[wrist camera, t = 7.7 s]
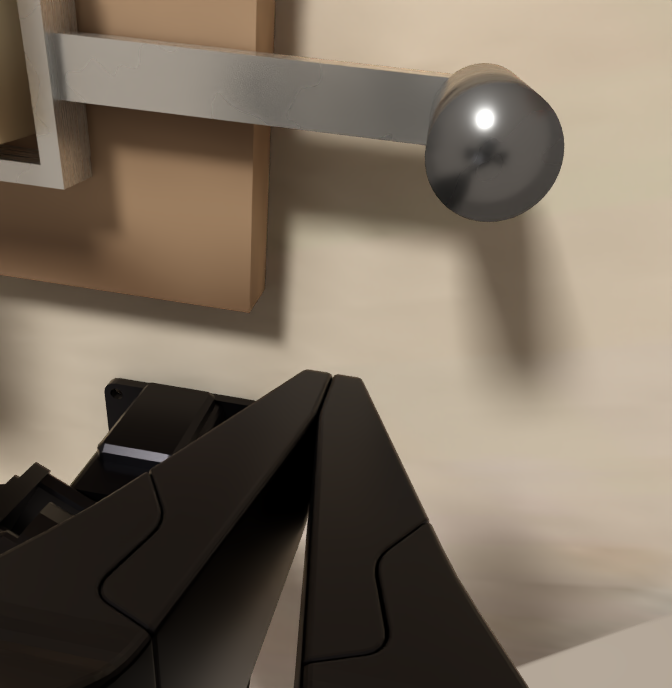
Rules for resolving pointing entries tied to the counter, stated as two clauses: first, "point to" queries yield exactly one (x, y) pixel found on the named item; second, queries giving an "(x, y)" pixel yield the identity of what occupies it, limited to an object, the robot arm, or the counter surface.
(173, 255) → the tunnel deck
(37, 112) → the sled
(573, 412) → the counter surface
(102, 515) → the robot arm
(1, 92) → the maple block
